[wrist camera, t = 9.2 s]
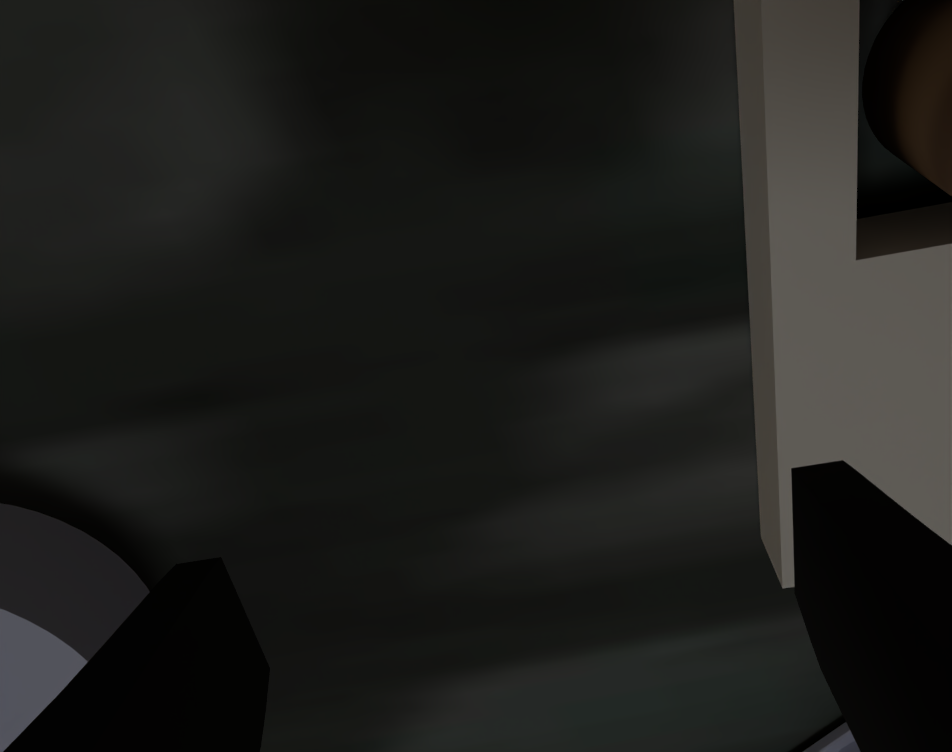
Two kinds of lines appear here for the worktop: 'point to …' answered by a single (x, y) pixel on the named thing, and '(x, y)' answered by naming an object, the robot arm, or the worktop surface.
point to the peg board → (835, 281)
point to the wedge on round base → (53, 610)
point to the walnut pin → (914, 88)
